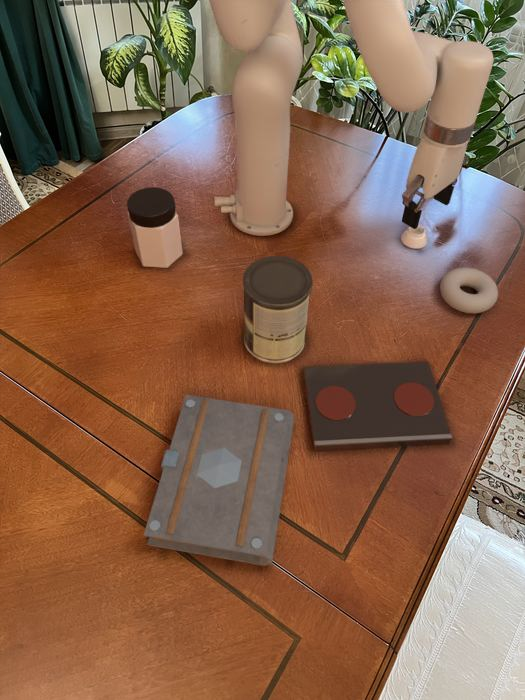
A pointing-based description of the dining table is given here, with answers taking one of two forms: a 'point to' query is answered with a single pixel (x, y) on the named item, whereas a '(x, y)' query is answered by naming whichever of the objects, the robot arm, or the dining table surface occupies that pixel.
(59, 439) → the dining table surface
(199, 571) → the dining table surface
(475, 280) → the donut
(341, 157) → the dining table surface
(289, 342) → the coffee can
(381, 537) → the dining table surface
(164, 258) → the jar
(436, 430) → the hob
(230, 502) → the book
